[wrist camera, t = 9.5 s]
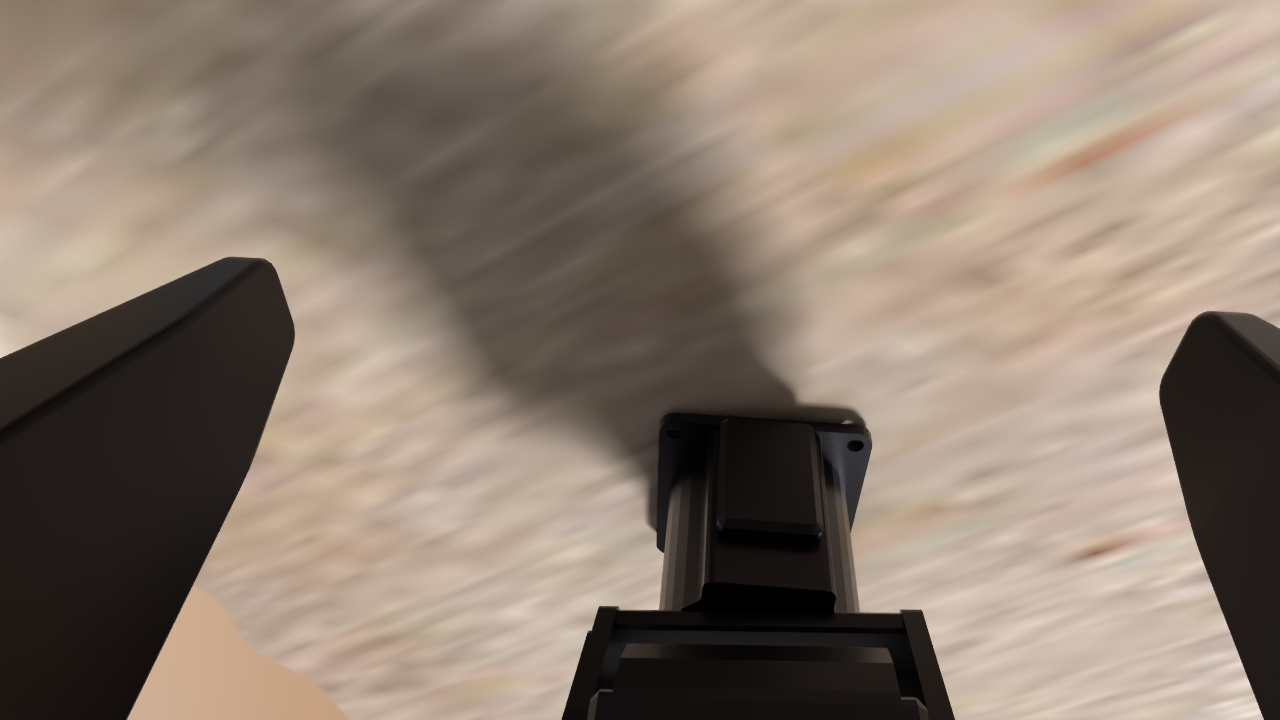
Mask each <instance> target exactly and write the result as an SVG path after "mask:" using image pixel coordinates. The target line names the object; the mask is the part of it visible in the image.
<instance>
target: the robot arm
mask: <svg viewBox="0 0 1280 720" xmlns="http://www.w3.org/2000/svg"><path fill="white" fill-rule="evenodd" d="M294 339H295V330H294V324H293V320H292V317H291V314H290V311H289V308H288V304H287V301H286V298H285V295H284V292H283V289H282V286H281V283H280V280H279V277H278V274H277V272H276V269H275V268H274V266H273V265H272V264H271V263H270V262H269V261H267V260H265V259H262V258H246V257H226V258H223V259H221V260H219V261H216V262H214V263H212V264H210V265H207V266H205V267H203V268H201V269H198V270H196V271H194V272H192V273H189V274H187V275H185V276H183V277H181V278H178V279H176V280H174V281H172V282H169V283H167V284H165V285H163V286H160V287H158V288H156V289H154V290H152V291H149V292H147V293H145V294H143V295H140V296H138V297H136V298H134V299H131V300H129V301H127V302H125V303H123V304H120V305H118V306H116V307H114V308H111V309H109V310H107V311H105V312H102V313H100V314H98V315H96V316H94V317H91V318H89V319H87V320H85V321H82V322H80V323H78V324H76V325H73V326H71V327H69V328H67V329H65V330H62V331H60V332H58V333H56V334H53V335H51V336H49V337H47V338H44V339H42V340H40V341H38V342H35V343H33V344H31V345H29V346H27V347H24V348H22V349H20V350H18V351H15V352H13V353H11V354H9V355H6V356H4V357H2V358H0V720H127V718H128V716H129V714H130V712H131V710H132V708H133V706H134V704H135V702H136V700H137V698H138V696H139V693H140V692H141V690H142V688H143V686H144V684H145V682H146V679H147V678H148V676H149V673H150V671H151V669H152V667H153V665H154V663H155V661H156V659H157V657H158V655H159V653H160V651H161V649H162V647H163V645H164V643H165V641H166V639H167V637H168V635H169V633H170V631H171V629H172V627H173V624H174V623H175V621H176V618H177V616H178V614H179V612H180V610H181V608H182V606H183V604H184V602H185V600H186V598H187V596H188V594H189V592H190V590H191V588H192V586H193V584H194V582H195V580H196V578H197V576H198V574H199V572H200V570H201V568H202V566H203V563H204V561H205V559H206V557H207V555H208V553H209V551H210V549H211V547H212V545H213V543H214V541H215V539H216V537H217V535H218V533H219V531H220V529H221V527H222V525H223V523H224V521H225V519H226V517H227V515H228V513H229V510H230V508H231V506H232V504H233V502H234V500H235V498H236V496H237V494H238V492H239V490H240V488H241V486H242V484H243V481H244V479H245V477H246V475H247V473H248V471H249V468H250V466H251V463H252V461H253V458H254V456H255V453H256V451H257V448H258V445H259V443H260V440H261V437H262V434H263V431H264V428H265V426H266V423H267V420H268V417H269V414H270V411H271V409H272V406H273V403H274V400H275V397H276V394H277V391H278V389H279V386H280V383H281V380H282V377H283V374H284V372H285V369H286V366H287V363H288V360H289V357H290V355H291V352H292V349H293V345H294ZM1159 397H1160V405H1161V409H1162V413H1163V417H1164V421H1165V425H1166V429H1167V433H1168V437H1169V441H1170V445H1171V449H1172V453H1173V457H1174V461H1175V465H1176V469H1177V473H1178V477H1179V481H1180V485H1181V489H1182V493H1183V497H1184V501H1185V505H1186V509H1187V513H1188V517H1189V520H1190V523H1191V527H1192V530H1193V534H1194V537H1195V540H1196V543H1197V546H1198V549H1199V551H1200V554H1201V557H1202V560H1203V563H1204V565H1205V568H1206V571H1207V573H1208V576H1209V578H1210V581H1211V584H1212V586H1213V589H1214V591H1215V594H1216V597H1217V599H1218V602H1219V604H1220V607H1221V610H1222V612H1223V615H1224V617H1225V620H1226V623H1227V625H1228V628H1229V630H1230V633H1231V635H1232V638H1233V641H1234V643H1235V646H1236V648H1237V651H1238V654H1239V656H1240V659H1241V661H1242V664H1243V667H1244V669H1245V672H1246V674H1247V677H1248V680H1249V682H1250V685H1251V687H1252V690H1253V693H1254V695H1255V698H1256V700H1257V703H1258V706H1259V708H1260V711H1261V713H1262V716H1263V719H1264V720H1280V328H1278V327H1276V326H1274V325H1272V324H1270V323H1268V322H1266V321H1265V320H1263V319H1261V318H1259V317H1257V316H1255V315H1252V314H1248V313H1237V312H1218V311H1207V312H1204V313H1202V314H1200V315H1198V316H1197V317H1196V318H1195V319H1194V320H1193V321H1192V322H1191V324H1190V325H1189V327H1188V329H1187V331H1186V333H1185V335H1184V336H1183V338H1182V340H1181V342H1180V344H1179V346H1178V348H1177V350H1176V352H1175V354H1174V356H1173V358H1172V359H1171V361H1170V363H1169V365H1168V367H1167V369H1166V371H1165V373H1164V375H1163V377H1162V380H1161V384H1160V391H1159ZM675 427H676V428H680V429H681V430H672V429H671V428H675ZM852 440H859V441H858V442H854V443H852V442H850V441H852ZM871 450H872V440H871V434H870V432H869V430H868V429H867V428H865V427H863V426H859V425H850V424H835V423H820V422H805V421H790V420H776V419H761V418H746V417H731V416H716V415H701V414H687V413H670V414H667V415H665V416H664V417H663V418H662V419H661V422H660V429H659V460H658V503H657V548H658V549H659V550H660V551H661V552H663V553H664V562H663V573H662V584H661V595H660V606H659V610H619V607H617V606H599V608H598V611H597V615H596V618H595V621H594V625H593V628H592V631H588V633H587V636H586V640H585V643H584V646H583V650H582V653H581V656H580V660H579V663H578V666H577V670H576V673H575V676H574V680H573V683H572V687H571V690H570V693H569V697H568V700H567V703H566V707H565V710H564V713H563V717H562V720H955V718H954V715H953V711H952V708H951V705H950V701H949V698H948V695H947V692H946V688H945V685H944V682H943V678H942V675H941V672H940V668H939V665H938V662H937V658H936V655H935V652H934V648H933V645H932V642H931V638H930V635H929V632H928V629H927V625H926V622H925V619H924V615H923V612H922V610H900V613H860V609H859V601H858V593H857V585H856V576H855V568H854V560H853V552H852V543H851V535H850V533H851V529H852V525H853V521H854V517H855V513H856V509H857V505H858V501H859V497H860V493H861V489H862V485H863V481H864V477H865V473H866V469H867V465H868V461H869V457H870V453H871Z"/></svg>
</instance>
